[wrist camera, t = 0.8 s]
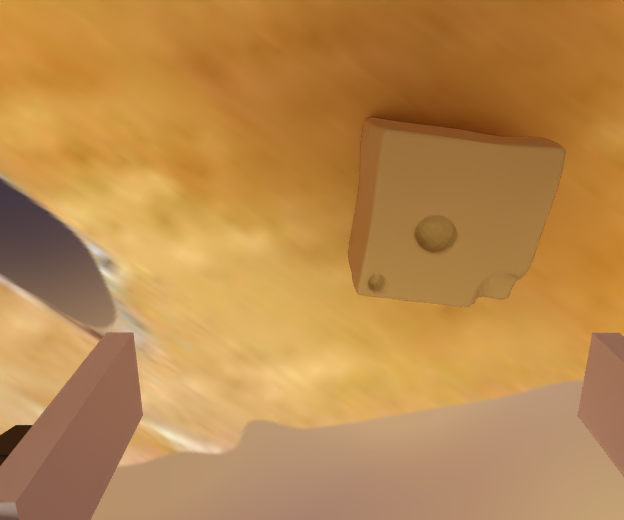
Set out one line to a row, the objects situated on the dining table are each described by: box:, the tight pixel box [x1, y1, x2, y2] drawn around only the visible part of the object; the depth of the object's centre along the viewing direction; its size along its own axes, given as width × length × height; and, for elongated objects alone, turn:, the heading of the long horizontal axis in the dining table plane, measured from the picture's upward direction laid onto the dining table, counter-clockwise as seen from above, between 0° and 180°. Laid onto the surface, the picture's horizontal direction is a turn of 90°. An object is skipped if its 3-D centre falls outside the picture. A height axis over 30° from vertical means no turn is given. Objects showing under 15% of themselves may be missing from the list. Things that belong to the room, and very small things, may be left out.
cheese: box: [348, 117, 565, 307], centre depth 36 cm, size 10×11×10 cm
